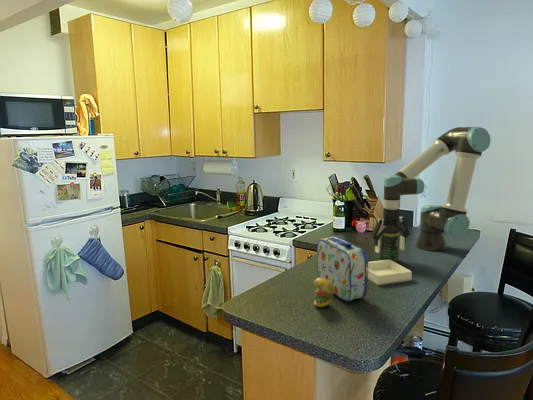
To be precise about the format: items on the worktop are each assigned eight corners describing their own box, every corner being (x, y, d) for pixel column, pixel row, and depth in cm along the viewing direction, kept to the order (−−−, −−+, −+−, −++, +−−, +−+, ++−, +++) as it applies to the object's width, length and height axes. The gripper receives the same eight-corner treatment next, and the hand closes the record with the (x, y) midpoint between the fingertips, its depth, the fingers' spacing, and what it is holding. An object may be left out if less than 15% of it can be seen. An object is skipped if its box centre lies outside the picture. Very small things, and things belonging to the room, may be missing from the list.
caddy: (389, 267, 177) (389, 259, 176) (411, 280, 162) (411, 271, 161) (357, 271, 173) (357, 263, 172) (377, 285, 157) (377, 276, 157)
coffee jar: (393, 265, 179) (394, 227, 176) (377, 262, 184) (378, 225, 181) (401, 260, 186) (402, 223, 183) (385, 257, 191) (386, 221, 188)
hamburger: (313, 300, 144) (313, 270, 142) (332, 301, 143) (332, 271, 141) (313, 310, 137) (313, 278, 134) (333, 310, 136) (334, 279, 134)
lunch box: (374, 303, 141) (376, 246, 137) (350, 308, 137) (351, 250, 133) (334, 278, 166) (335, 229, 162) (313, 281, 162) (313, 232, 158)
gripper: (409, 204, 187) (407, 246, 191) (363, 208, 181) (362, 251, 185) (419, 207, 180) (416, 250, 184) (372, 211, 174) (370, 255, 177)
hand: (389, 250), depth 184 cm, fingers open, 13 cm apart
